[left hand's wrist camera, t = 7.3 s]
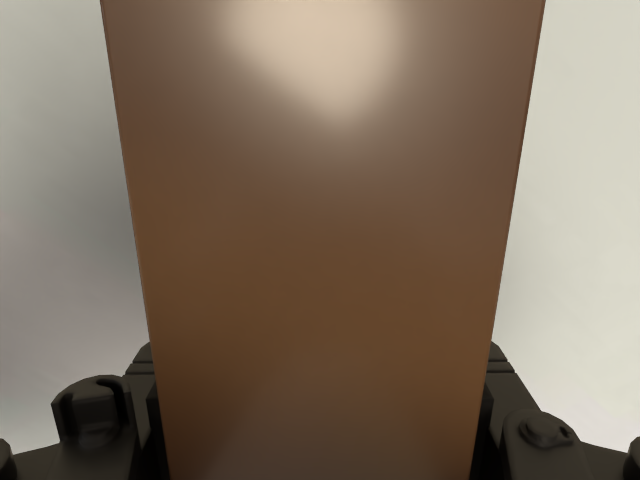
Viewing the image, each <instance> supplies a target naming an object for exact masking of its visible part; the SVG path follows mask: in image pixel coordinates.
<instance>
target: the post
mask: <svg viewBox="0 0 640 480" xmlns="http://www.w3.org/2000/svg"><path fill="white" fill-rule="evenodd" d="M545 2H546V0H100V5H101V12H102V18H103V25H104V32H105V39H106V46H107V52H108V59H109V66H110V73H111V80H112V87H113V93H114V100H115V107H116V114H117V121H118V127H119V134H120V141H121V148H122V155H123V161H124V168H125V175H126V182H127V189H128V195H129V202H130V209H131V216H132V223H133V230H134V236H135V243H136V250H137V257H138V264H139V270H140V277H141V284H142V291H143V298H144V304H145V311H146V318H147V325H148V332H149V339H150V345H151V352H152V359H153V366H154V373H155V379H156V386H157V393H158V400H159V407H160V413H161V420H162V427H163V434H164V441H165V447H166V454H167V461H168V468H169V475H170V480H469V476H470V470H471V463H472V457H473V451H474V445H475V438H476V432H477V426H478V420H479V413H480V407H481V401H482V395H483V388H484V382H485V376H486V370H487V363H488V357H489V351H490V345H491V339H492V332H493V326H494V320H495V314H496V307H497V301H498V295H499V289H500V282H501V276H502V270H503V264H504V257H505V251H506V245H507V239H508V232H509V226H510V220H511V214H512V207H513V201H514V195H515V189H516V183H517V176H518V170H519V164H520V158H521V151H522V145H523V139H524V133H525V126H526V120H527V114H528V108H529V101H530V95H531V89H532V83H533V76H534V70H535V64H536V58H537V51H538V45H539V39H540V33H541V26H542V20H543V14H544V8H545Z"/></svg>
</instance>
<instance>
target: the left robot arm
mask: <svg viewBox="0 0 640 480" xmlns="http://www.w3.org/2000/svg"><path fill="white" fill-rule="evenodd" d="M51 407H52V411H53V415H54V419H55V422H56V426H57V430H58V434H59V438H60V442H59V443H58V444H55V445H51V446H48V447H44V448H40V449H36V450H32V451H27V452H23V453H19V454H15V455H13V454H12V451H11V448H10V445H9V444H8V443H7V442H6V441H5V440H4V439H0V480H170V475H169V468H168V461H167V454H166V447H165V441H164V434H163V427H162V420H161V413H160V407H159V400H158V393H157V386H156V379H155V373H154V366H153V359H152V352H151V345H150V342H148V343H147V344H146V345H144V346H143V347H142V348H141V349H140V350H139V352H138V354H137V355H136V357H135V358H134V360H133V363H132V364H130V366H129V367H128V369H127V370H126V372H125V375H123V376H122V377H119V376H115V375H98V376H94V377H90V378H86V379H83V380H81V381H78V382H76V383H74V384H72V385H70V386H68V387H67V388H66V389H64V390H63V391H62V392H60V393H59V394H58V395H57V396H56V398H55V399H54V400H53V402H52V403H51ZM469 480H640V437H637V438H636V439H634V440H633V441H632V442H631V443H630V447H629V450H628V453H625V452H621V451H616V450H612V449H608V448H603V447H599V446H595V445H591V444H588V443H585V442H582V441H580V439H579V438H578V436H577V435H576V433H575V432H574V430H573V429H572V428H571V427H569V426H568V425H567V424H566V423H565V422H564V421H562V420H561V419H559V418H557V417H555V416H553V415H551V414H549V413H546V412H542V411H541V410H540V408H539V407H538V405H537V404H536V402H535V401H534V399H533V398H532V396H531V395H530V393H529V392H528V390H527V389H526V387H525V385H524V384H523V382H522V381H521V379H520V378H519V376H518V375H517V373H515V370H514V369H513V367H512V366H511V364H510V363H509V362H507V358H506V357H505V355H504V354H503V352H502V351H501V349H500V348H499V346H498V345H496V344H495V343H493V342H492V341H491V345H490V351H489V357H488V363H487V370H486V376H485V382H484V388H483V395H482V401H481V407H480V413H479V420H478V426H477V432H476V438H475V445H474V451H473V457H472V463H471V470H470V476H469Z"/></svg>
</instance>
